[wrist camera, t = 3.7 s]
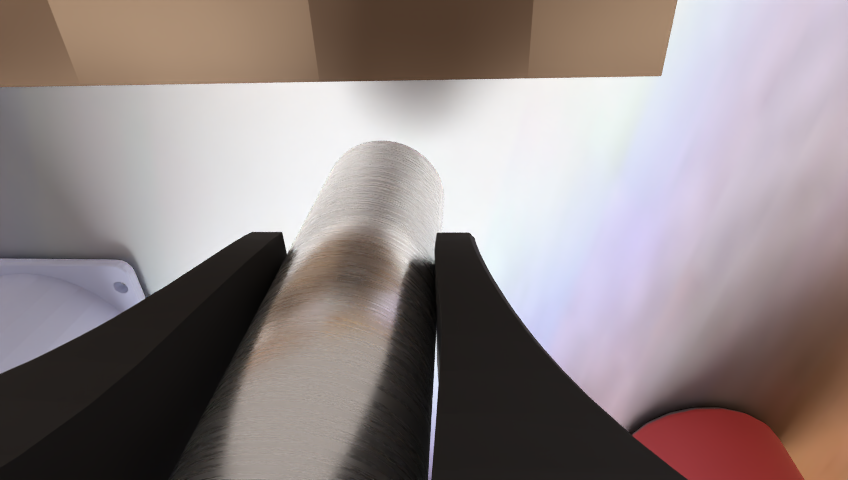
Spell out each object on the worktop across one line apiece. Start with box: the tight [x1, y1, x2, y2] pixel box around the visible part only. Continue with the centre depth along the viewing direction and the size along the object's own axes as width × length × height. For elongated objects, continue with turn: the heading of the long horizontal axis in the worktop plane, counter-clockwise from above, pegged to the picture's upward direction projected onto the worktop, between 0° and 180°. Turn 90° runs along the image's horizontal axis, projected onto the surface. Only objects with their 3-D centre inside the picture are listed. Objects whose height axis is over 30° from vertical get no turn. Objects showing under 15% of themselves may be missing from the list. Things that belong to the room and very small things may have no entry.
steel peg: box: [169, 141, 444, 480], centre depth 9 cm, size 3×3×10 cm
